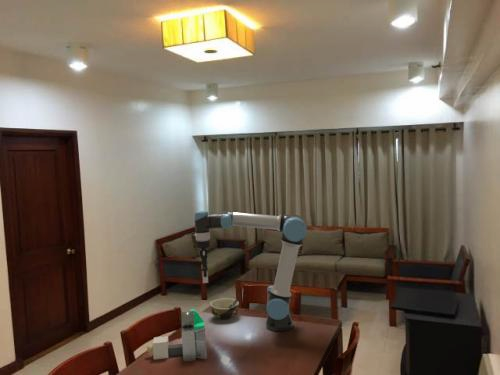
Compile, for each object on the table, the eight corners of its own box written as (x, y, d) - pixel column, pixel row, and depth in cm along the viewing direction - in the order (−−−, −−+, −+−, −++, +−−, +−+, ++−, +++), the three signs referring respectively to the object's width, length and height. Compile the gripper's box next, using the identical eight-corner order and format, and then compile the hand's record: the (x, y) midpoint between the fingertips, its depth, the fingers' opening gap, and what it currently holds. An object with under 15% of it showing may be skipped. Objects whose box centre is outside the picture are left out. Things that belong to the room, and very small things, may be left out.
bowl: (207, 323, 248) (206, 307, 248) (214, 312, 266) (213, 297, 265) (236, 323, 245) (235, 307, 245) (242, 312, 263) (241, 297, 262)
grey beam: (205, 347, 215) (204, 332, 214) (205, 353, 208) (204, 337, 207) (148, 353, 211) (147, 338, 210) (147, 360, 204) (146, 344, 204)
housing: (205, 342, 221) (203, 304, 219) (207, 359, 202) (204, 317, 201) (184, 345, 219) (181, 306, 218) (183, 361, 200) (180, 319, 199)
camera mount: (183, 332, 236) (181, 314, 236) (183, 327, 244) (182, 310, 243) (204, 330, 238) (203, 312, 237) (203, 325, 245) (202, 307, 245)
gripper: (195, 236, 236) (197, 274, 237) (195, 244, 211) (198, 286, 213) (209, 235, 237) (211, 272, 238) (210, 243, 212) (213, 285, 214)
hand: (205, 279), depth 226 cm, fingers open, 13 cm apart
